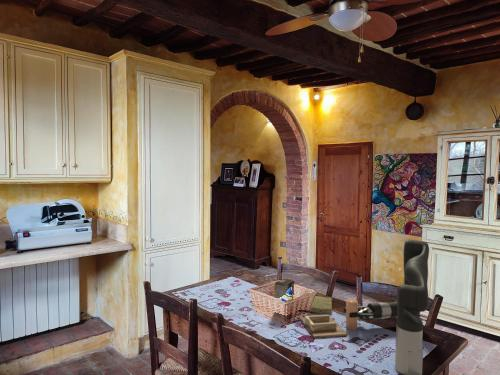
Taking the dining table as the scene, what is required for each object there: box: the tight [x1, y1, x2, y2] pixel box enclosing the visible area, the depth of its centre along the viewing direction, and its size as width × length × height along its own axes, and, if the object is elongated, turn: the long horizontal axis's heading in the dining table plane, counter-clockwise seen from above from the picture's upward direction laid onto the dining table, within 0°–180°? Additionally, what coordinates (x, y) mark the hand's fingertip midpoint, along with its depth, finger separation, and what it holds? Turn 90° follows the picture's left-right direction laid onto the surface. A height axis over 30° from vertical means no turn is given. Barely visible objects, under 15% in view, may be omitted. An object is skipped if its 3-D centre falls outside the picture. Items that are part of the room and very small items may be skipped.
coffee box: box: [274, 278, 295, 298], centre depth 197 cm, size 9×6×16 cm
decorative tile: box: [311, 295, 333, 315], centre depth 205 cm, size 19×20×4 cm
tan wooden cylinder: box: [345, 298, 359, 331], centre depth 179 cm, size 5×5×13 cm
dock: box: [299, 314, 348, 339], centre depth 178 cm, size 20×16×4 cm
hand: (347, 312), depth 178 cm, fingers closed on tan wooden cylinder, 5 cm apart
